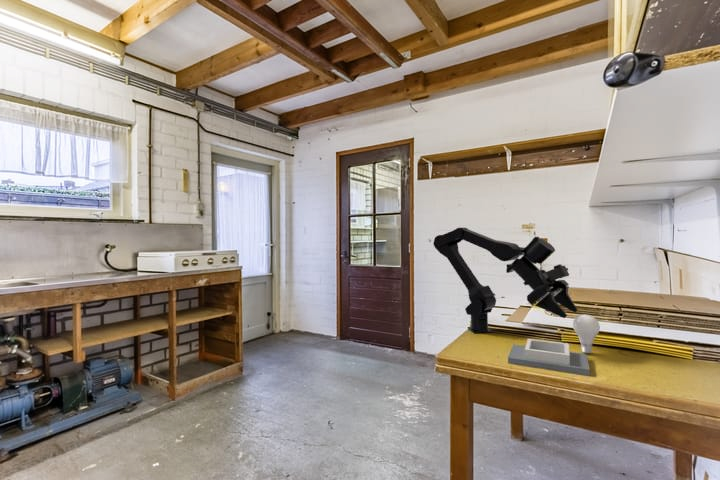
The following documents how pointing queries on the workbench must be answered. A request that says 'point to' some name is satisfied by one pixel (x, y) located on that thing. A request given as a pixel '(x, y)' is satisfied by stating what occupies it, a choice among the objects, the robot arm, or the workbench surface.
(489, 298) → the robot arm
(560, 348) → the holder
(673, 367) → the workbench surface
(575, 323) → the lightbulb
